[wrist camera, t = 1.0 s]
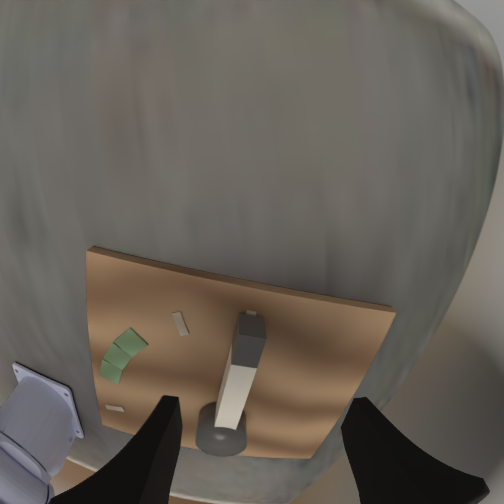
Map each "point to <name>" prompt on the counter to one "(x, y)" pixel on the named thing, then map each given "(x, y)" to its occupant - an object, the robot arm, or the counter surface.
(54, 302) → the counter surface
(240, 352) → the peg
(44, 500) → the robot arm
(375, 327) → the board
